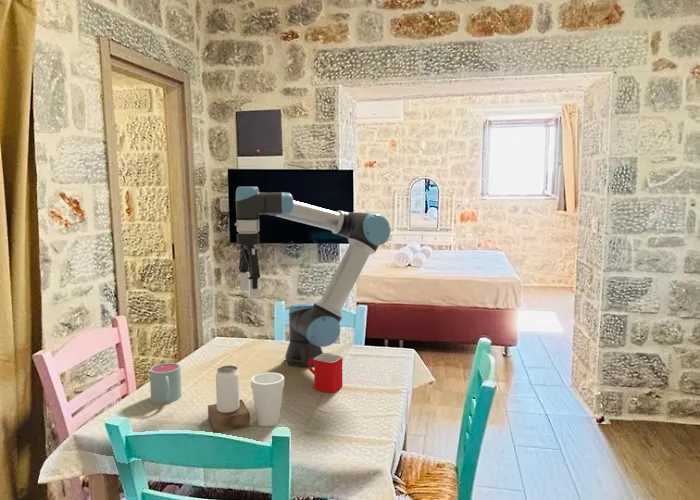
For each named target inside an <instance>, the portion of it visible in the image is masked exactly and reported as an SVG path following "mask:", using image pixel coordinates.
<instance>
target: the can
mask: <svg viewBox="0 0 700 500" xmlns="http://www.w3.org/2000/svg"><path fill="white" fill-rule="evenodd" d="M216 371H217V372H216V374H215V391H216V392H215V394H216V397H215V399H216V404H217V410H218V411H219V412H221V413H232V412H235V411H237V410H238V409H239V407H240V400H241V399H240V396H241V395H240V373H239V371H238V366H236V365H223V366H220V367H218V368H217V369H216Z"/></svg>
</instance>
